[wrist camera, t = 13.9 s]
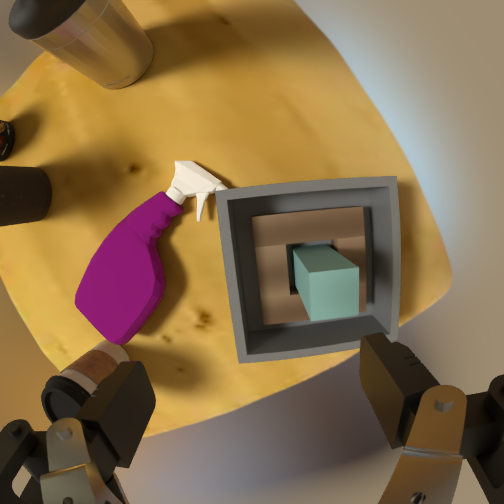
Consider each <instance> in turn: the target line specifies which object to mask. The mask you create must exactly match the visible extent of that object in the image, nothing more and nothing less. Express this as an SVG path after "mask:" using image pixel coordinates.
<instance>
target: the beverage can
mask: <svg viewBox="0 0 504 504" xmlns="http://www.w3.org/2000/svg"><path fill="white" fill-rule="evenodd" d="M13 141H14V130H13V127H12V125H11V124H10V123H9V122H6V121H2V120H0V161H2V160H4V159H5V157H6V156H7V155H8V154H9V152H10V150H11V148H12V145H13Z"/></svg>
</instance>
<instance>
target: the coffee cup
mask: <svg viewBox="0 0 504 504" xmlns="http://www.w3.org/2000/svg"><path fill="white" fill-rule="evenodd" d="M122 361H130V359H129V356H128V354H127V352H126V351H125V350H124V349H123V348H122V347H121V346H120V345H115V344H113V343H111V342H110V341H102V342H100V343H99V344H98V345H96V346H95V347H94V348H93V349H91V350H90V351H88V352H87V353H86V354H84V355H83V356H81V357H80V358H79V359H77V360H76V361H75V362H73V363H72V364H70V365H69V366H68V367H66V368H65V369H64V370H62V371H61V372H60V374H59V375H58V376H52V377H51V378H50V379H49V380H48V381H47V383H46V385H45V388H44V390H43V392H42V395H41V401H42V405H43V408H44V411H45V413H46V415H47V417H48V419H49V420H50V421H51V422H52V424H53V423H54V422H56V421H58V420H60V419H63V418H74V417H75V416H76V414H77V413H78V412H79V410H80V409H81V408H82V406H83V405H84V403H85V402H86V401H87V399H88V398H89V397H91V394H92V393H93V391H94V390H96V387H97V386H98V385H99V383H100V382H101V381H102V380H103V379H104V378H106V377H107V376H108V375H110V374H111V373H113V372H114V370H115V369H116V368H117V366H118V365H119V364H120V362H122Z"/></svg>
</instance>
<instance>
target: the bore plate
mask: <svg viewBox="0 0 504 504" xmlns="http://www.w3.org/2000/svg"><path fill="white" fill-rule="evenodd" d="M252 226H253V235H254V244H255V253H256V261H257V270H258V279H259V288H260V297H261V306H262V315H263V324H264V325H269V324H278V323H287V322H296V321H304V320H310V318H309V316H308V313H307V311H306V309H305V306H304V304H303V301H302V299H301V297H300V294H299V292H298V290H297V288H296V286H293V287H289V277H288V266H287V254H286V244H294V243H303V242H313V241H322V240H331V248H332V249H333V250H335V251H336V252H338V253H339V254H340V255H342V256H343V257H345V258H346V259H348V260H349V261H351V262H352V263H353V264H355V265H356V266H358V267H359V312H364V311H366V252H365V231H364V216H363V207H362V206H345V207H333V208H322V209H311V210H300V211H290V212H280V213H270V214H261V215H252Z"/></svg>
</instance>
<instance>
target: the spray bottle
mask: <svg viewBox="0 0 504 504" xmlns="http://www.w3.org/2000/svg"><path fill="white" fill-rule="evenodd" d="M175 167H176V171H175V176H174V178H173V181H172V183H171V187H170V188H169V189H168V191H167V192H166V193H165V192H163V191H162V192H159V193H158V194H156V195H155V196H153V197H152V198H150V199H149V200H147V201H146V202H144V203H143V204H141V205H140V206H139V207H137V208H136V209H135V210H133V211H132V212H131V213H130V214H129V215H128V216H127V217H125V218H124V219H123V220H122V221H121V222H120V223H119V224H118V225H116V227H115V228H114V229H113V230H112V231H111V232H110V234H109V235H108V236H107V237H106V238H105V240H104V241H103V242H102V244H101V245H100V247H99V248H98V250H97V251H96V253H95V254H94V256H93V257H92V259H91V261H90V263H89V265H88V267H87V269H86V271H85V274H84V276H83V278H82V280H81V283H80V285H79V287H78V290H77V292H76V295H75V305H76V307H77V308H78V309H79V311H80V312H81V313H82V314H83V315H84V316H85V317H86V318H87V319H88V321H89V322H90V323H91V324H92V325H93V326H94V327H95V328H96V329H97V330H98V331H99V332H100V333H101V334H102V335H103V336H104V337H105V338H106V339H107V340H108V341H110V342H111V343H113V344H115V345H123V344H125V343H127V342H129V341H130V340H131V338H132V337H133V336H134V335H135V334H136V333H137V332H138V331H139V330H140V329H141V327H142V326H143V325H144V323H145V322H146V321H147V319H148V318H149V317H150V315H151V314H152V313H153V312H154V310H155V309H156V308H157V306H158V305H159V303H160V301H161V299H162V297H163V295H164V291H165V286H166V282H165V276H164V270H163V265H162V262H161V259H160V256H159V254H158V251H157V248H156V244H157V239H158V238H159V237H160V236H162V232H163V230H164V229H165V228H167V227H168V226H169V225H170V223H171V220H172V217H174V216H176V215H179V214H181V213H182V211H183V208H182V206H181V204H182V203H183V201H184V200H185V199H186V197H193V196H197V199H198V202H197V221H201V216H202V212H203V208H204V204H205V201H206V199H207V197H208V196H209V194H214V193H215V191H217V190H225V189H228V188H227V187H225V186H224V185H223V184H222V182H221V181H220V180H218V179H217V178H216V177H214V176H213V175H211V174H210V173H208V172H207V171H206V170H204V169H203V168H201V167H200V166H198V165H197V164H195V163H194V162H192V161H175Z"/></svg>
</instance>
